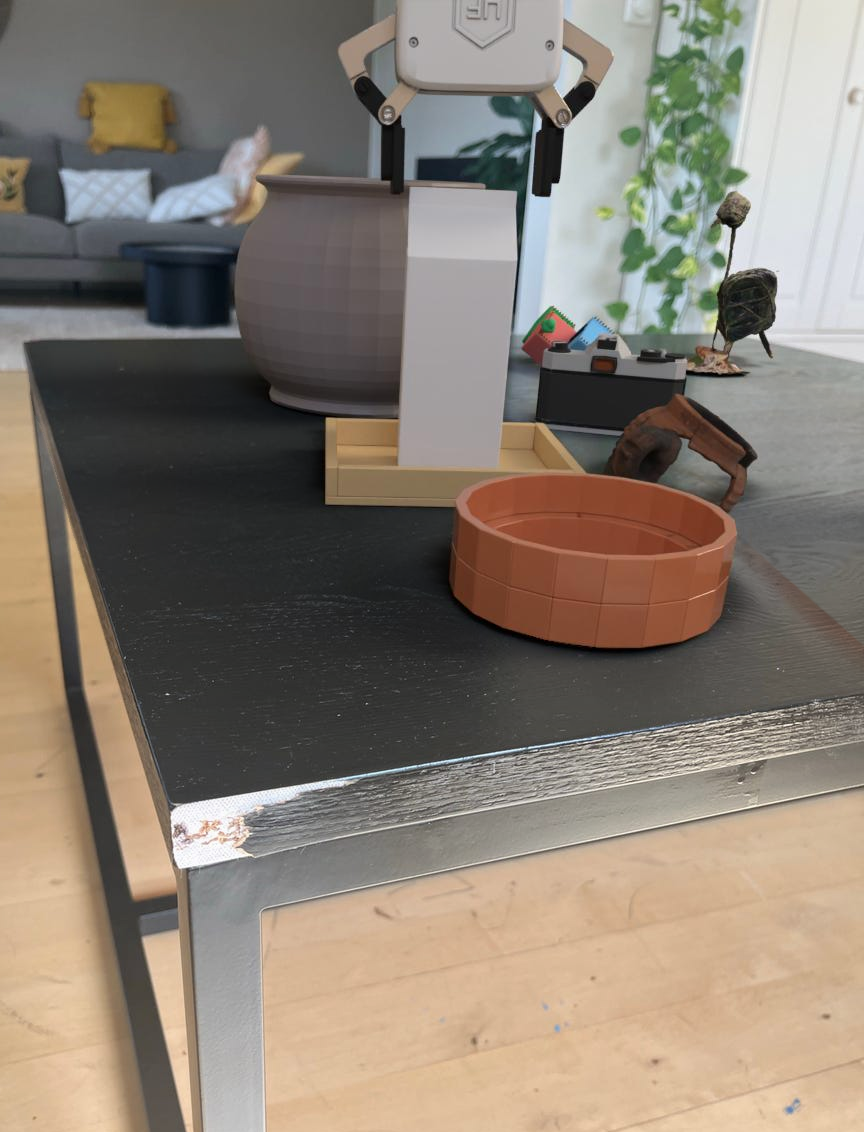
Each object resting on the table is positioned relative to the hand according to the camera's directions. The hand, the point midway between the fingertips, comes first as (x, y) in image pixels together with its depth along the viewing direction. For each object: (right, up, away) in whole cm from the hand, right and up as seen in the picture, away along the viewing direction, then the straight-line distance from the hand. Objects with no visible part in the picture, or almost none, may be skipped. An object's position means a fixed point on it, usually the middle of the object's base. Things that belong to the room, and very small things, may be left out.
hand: (469, 195), depth 65 cm
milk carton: (-1, -17, +8) cm, 19 cm away
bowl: (+5, -27, -12) cm, 30 cm away
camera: (+15, -10, +26) cm, 31 cm away
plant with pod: (+35, +3, +54) cm, 65 cm away
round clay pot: (-8, -6, +32) cm, 34 cm away
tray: (-1, -17, +8) cm, 19 cm away
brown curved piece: (+14, -20, +5) cm, 25 cm away
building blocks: (+16, +3, +53) cm, 55 cm away
